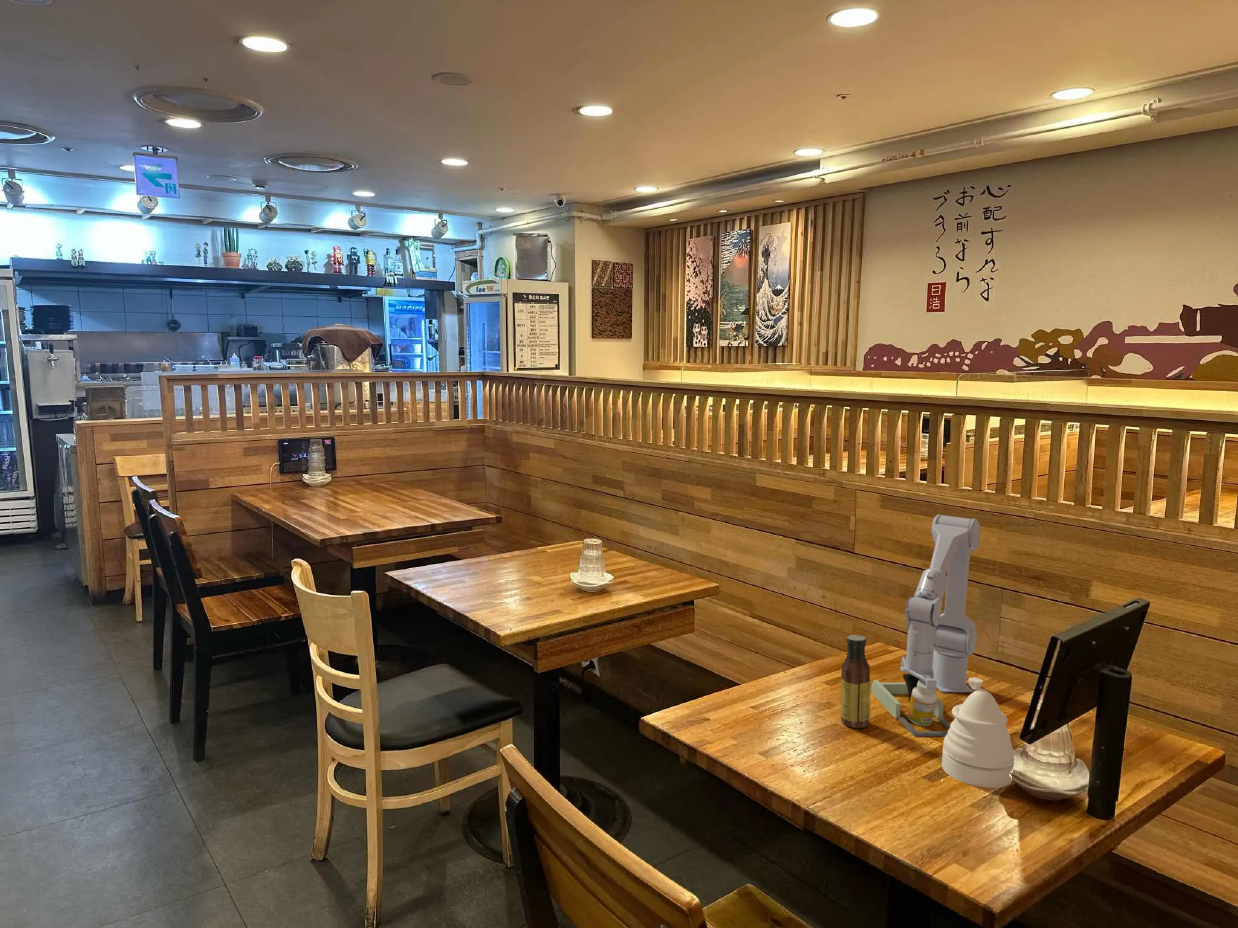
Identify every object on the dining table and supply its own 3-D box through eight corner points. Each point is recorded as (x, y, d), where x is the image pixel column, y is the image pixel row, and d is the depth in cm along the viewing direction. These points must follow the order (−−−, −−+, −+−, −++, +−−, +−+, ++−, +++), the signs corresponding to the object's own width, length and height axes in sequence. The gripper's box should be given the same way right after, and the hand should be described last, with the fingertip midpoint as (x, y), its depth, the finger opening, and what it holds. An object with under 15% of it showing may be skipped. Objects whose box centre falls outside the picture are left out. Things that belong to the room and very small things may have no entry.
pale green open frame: (871, 692, 200) (872, 678, 199) (915, 692, 200) (915, 678, 200) (895, 718, 185) (896, 703, 184) (942, 718, 185) (943, 703, 185)
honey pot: (927, 761, 164) (933, 675, 162) (977, 752, 169) (983, 668, 167) (976, 792, 152) (982, 700, 150) (1028, 781, 157) (1035, 691, 155)
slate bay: (898, 719, 184) (898, 716, 184) (941, 719, 185) (941, 716, 185) (914, 736, 176) (914, 733, 176) (959, 735, 176) (959, 733, 176)
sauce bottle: (866, 718, 184) (871, 633, 182) (871, 730, 178) (877, 642, 176) (836, 716, 185) (841, 631, 183) (841, 728, 179) (846, 640, 176)
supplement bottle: (911, 707, 187) (919, 672, 184) (935, 717, 184) (943, 682, 181) (903, 719, 183) (910, 684, 180) (927, 730, 180) (935, 694, 177)
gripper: (890, 638, 191) (886, 693, 193) (915, 660, 177) (910, 720, 178) (920, 639, 191) (915, 694, 193) (947, 661, 177) (942, 720, 179)
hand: (915, 706), depth 186 cm, fingers closed, pressing on supplement bottle
